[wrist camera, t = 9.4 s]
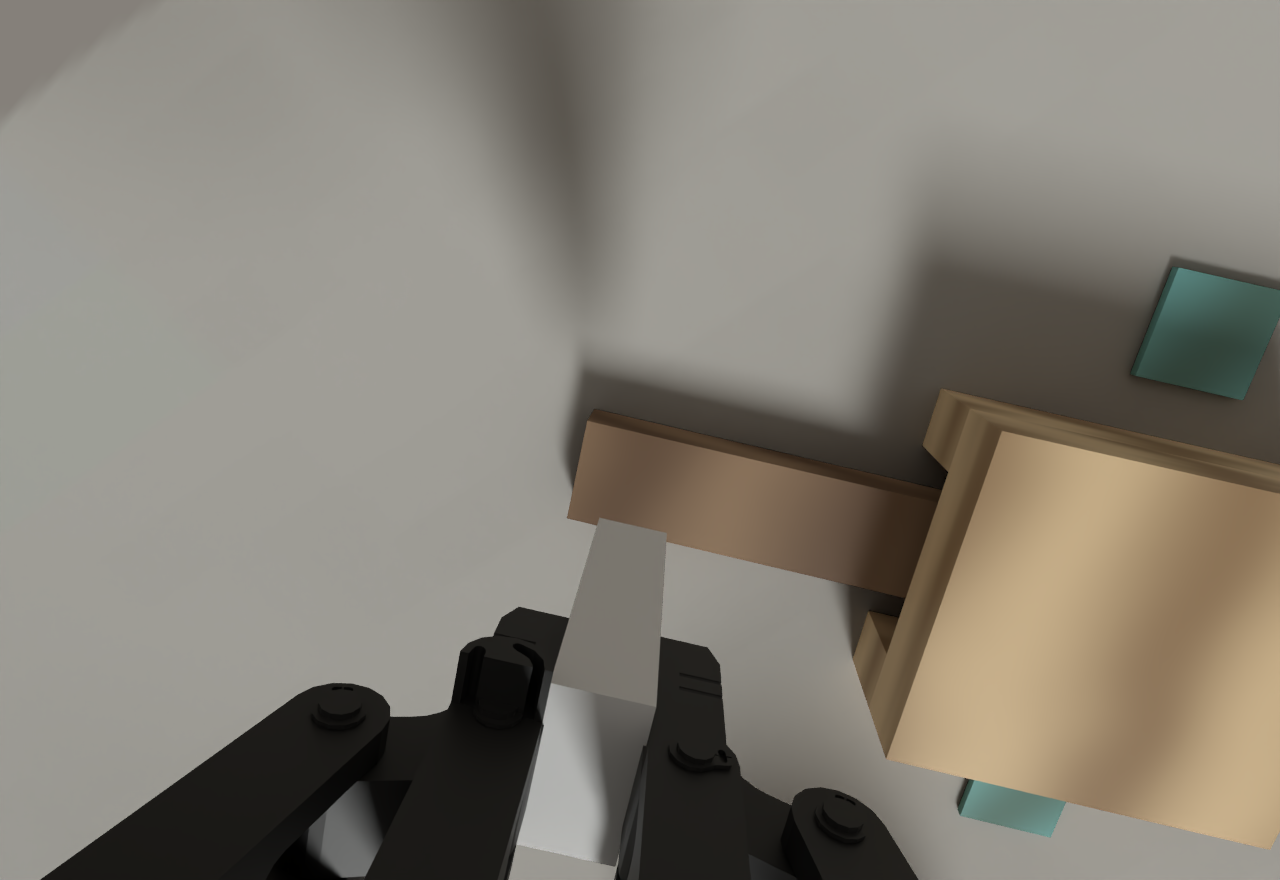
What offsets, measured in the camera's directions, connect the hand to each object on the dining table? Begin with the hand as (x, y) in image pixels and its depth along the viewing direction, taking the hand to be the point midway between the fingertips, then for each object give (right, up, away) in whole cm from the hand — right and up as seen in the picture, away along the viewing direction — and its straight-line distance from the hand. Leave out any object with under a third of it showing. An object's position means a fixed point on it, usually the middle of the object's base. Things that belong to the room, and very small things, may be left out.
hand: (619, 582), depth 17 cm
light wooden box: (+13, -1, +7) cm, 15 cm away
